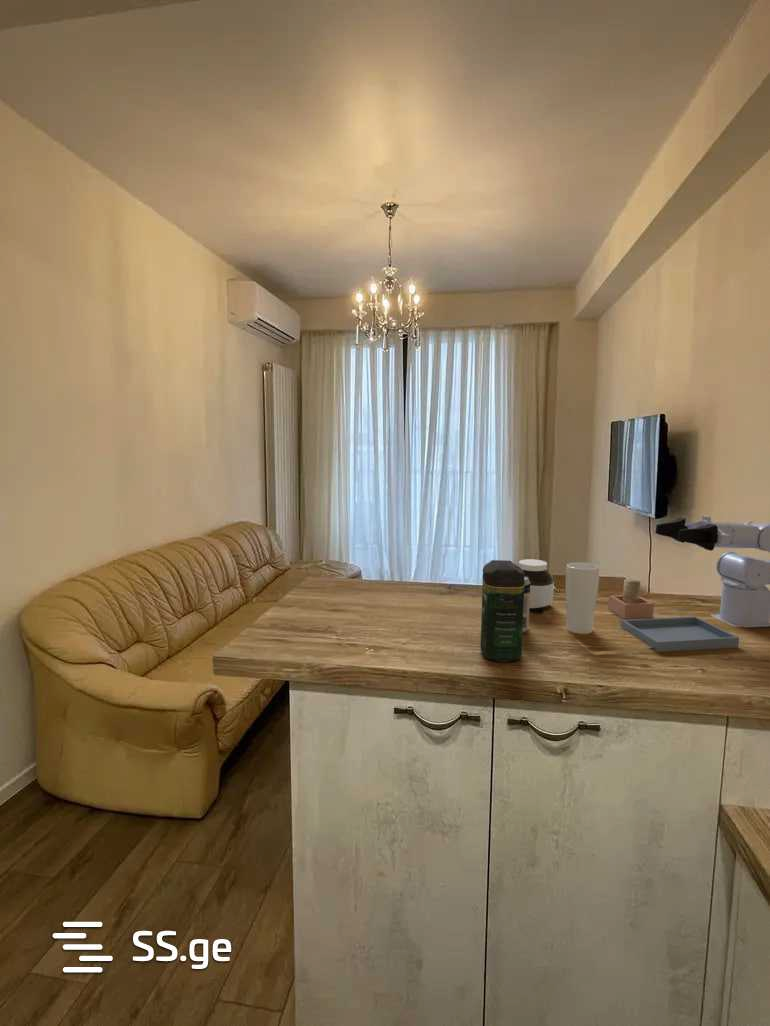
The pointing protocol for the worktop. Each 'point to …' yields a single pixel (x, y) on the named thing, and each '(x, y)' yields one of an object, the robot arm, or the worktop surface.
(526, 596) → the beer can
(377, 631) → the worktop surface
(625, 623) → the slate tray
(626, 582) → the ash peg
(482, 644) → the coffee jar
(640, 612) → the salmon open box
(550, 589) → the spread jar
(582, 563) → the drinking glass
